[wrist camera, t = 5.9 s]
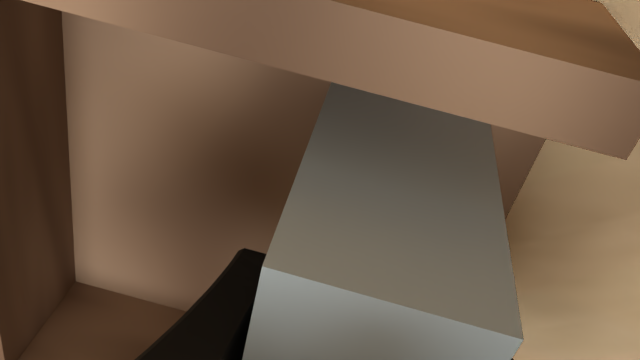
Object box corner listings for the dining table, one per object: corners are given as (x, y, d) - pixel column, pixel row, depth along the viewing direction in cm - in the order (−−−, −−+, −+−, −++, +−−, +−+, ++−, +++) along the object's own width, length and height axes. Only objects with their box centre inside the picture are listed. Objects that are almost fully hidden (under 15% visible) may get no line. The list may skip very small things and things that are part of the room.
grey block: (519, 131, 12) (572, 353, 7) (419, 341, 16) (410, 576, 11) (332, 79, 12) (262, 266, 8) (277, 301, 16) (208, 517, 12)
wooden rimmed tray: (601, 3, 11) (696, 122, 7) (413, 386, 18) (406, 556, 14) (12, -150, 12) (-221, -118, 7) (51, 286, 19) (-58, 425, 15)
